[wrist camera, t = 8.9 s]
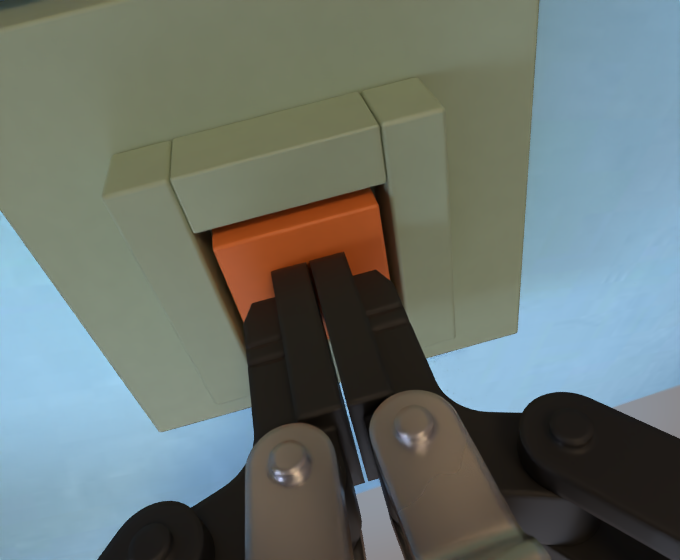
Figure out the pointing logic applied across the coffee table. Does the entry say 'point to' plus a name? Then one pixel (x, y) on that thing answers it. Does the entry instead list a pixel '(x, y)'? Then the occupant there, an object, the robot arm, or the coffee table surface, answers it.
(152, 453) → the coffee table surface
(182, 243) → the green stepped square block
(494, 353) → the coffee table surface
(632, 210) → the coffee table surface
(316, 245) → the key
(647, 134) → the coffee table surface
